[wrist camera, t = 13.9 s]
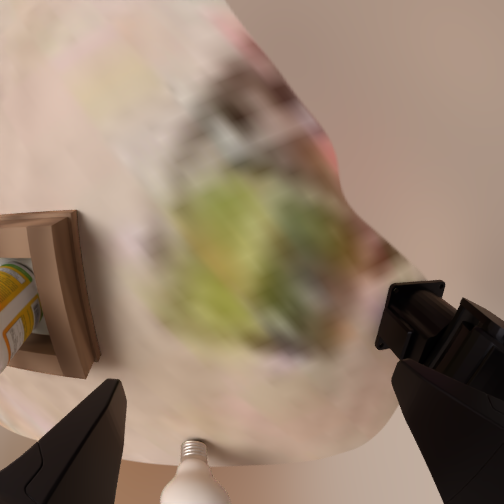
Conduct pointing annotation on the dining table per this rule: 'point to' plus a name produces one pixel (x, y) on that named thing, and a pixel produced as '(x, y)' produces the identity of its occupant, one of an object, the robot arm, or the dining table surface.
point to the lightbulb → (194, 479)
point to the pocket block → (52, 292)
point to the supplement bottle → (16, 309)
